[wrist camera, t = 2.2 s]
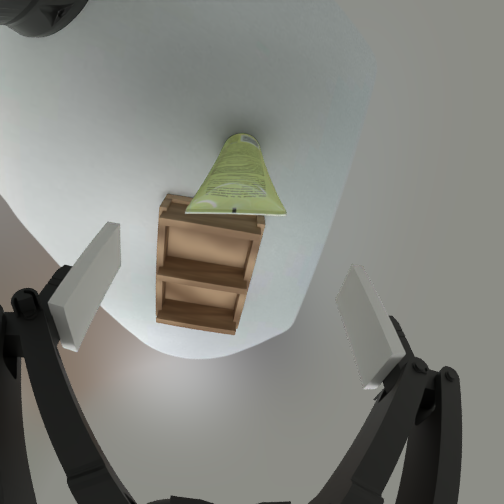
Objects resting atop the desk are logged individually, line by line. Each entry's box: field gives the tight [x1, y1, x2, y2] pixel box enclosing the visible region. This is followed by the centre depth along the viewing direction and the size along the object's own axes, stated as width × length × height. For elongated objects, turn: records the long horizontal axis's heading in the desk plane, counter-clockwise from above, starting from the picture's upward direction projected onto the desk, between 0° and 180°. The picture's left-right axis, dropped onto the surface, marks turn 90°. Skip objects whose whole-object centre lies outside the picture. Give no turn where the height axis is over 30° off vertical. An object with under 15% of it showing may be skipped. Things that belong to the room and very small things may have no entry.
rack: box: [156, 194, 265, 335], centre depth 44 cm, size 20×14×6 cm
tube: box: [185, 133, 287, 216], centre depth 29 cm, size 6×5×20 cm
